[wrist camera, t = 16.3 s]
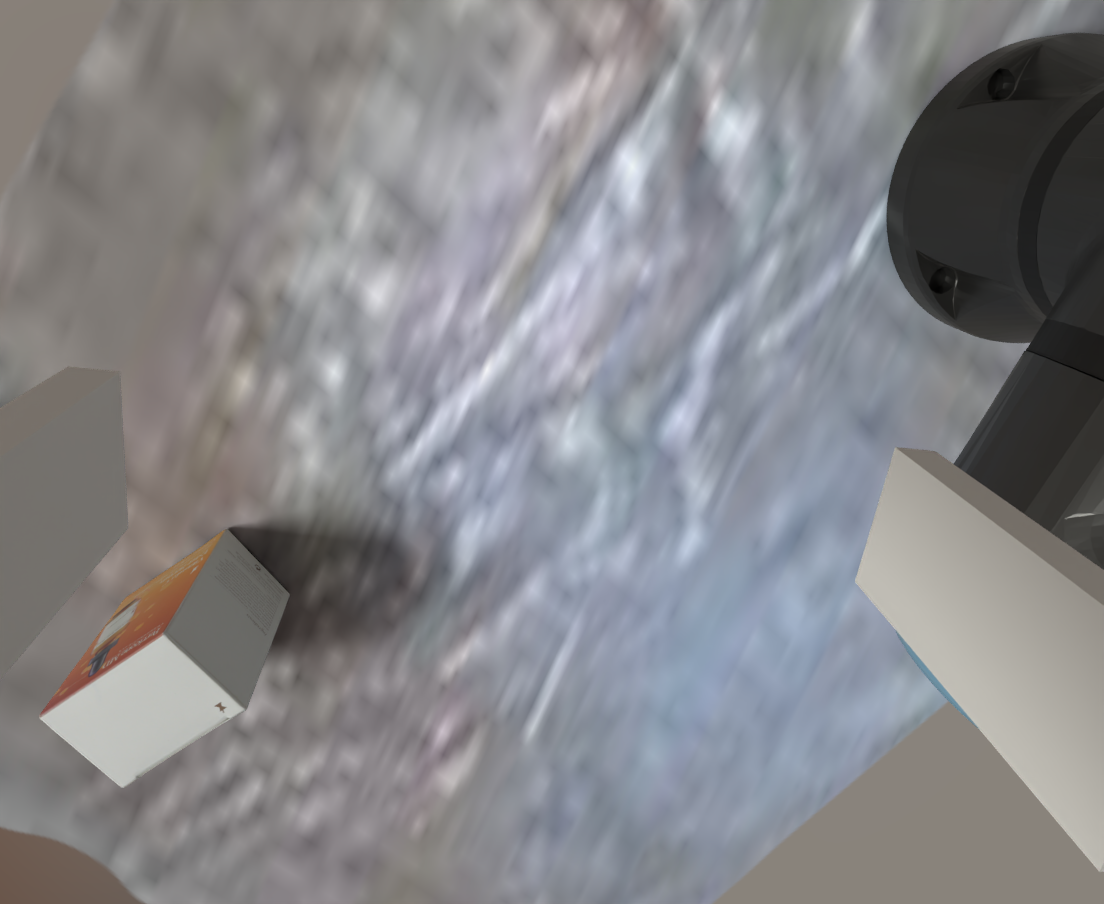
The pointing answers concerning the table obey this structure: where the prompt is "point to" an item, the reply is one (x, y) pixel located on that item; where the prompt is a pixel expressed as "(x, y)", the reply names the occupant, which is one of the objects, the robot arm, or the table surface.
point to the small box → (171, 661)
